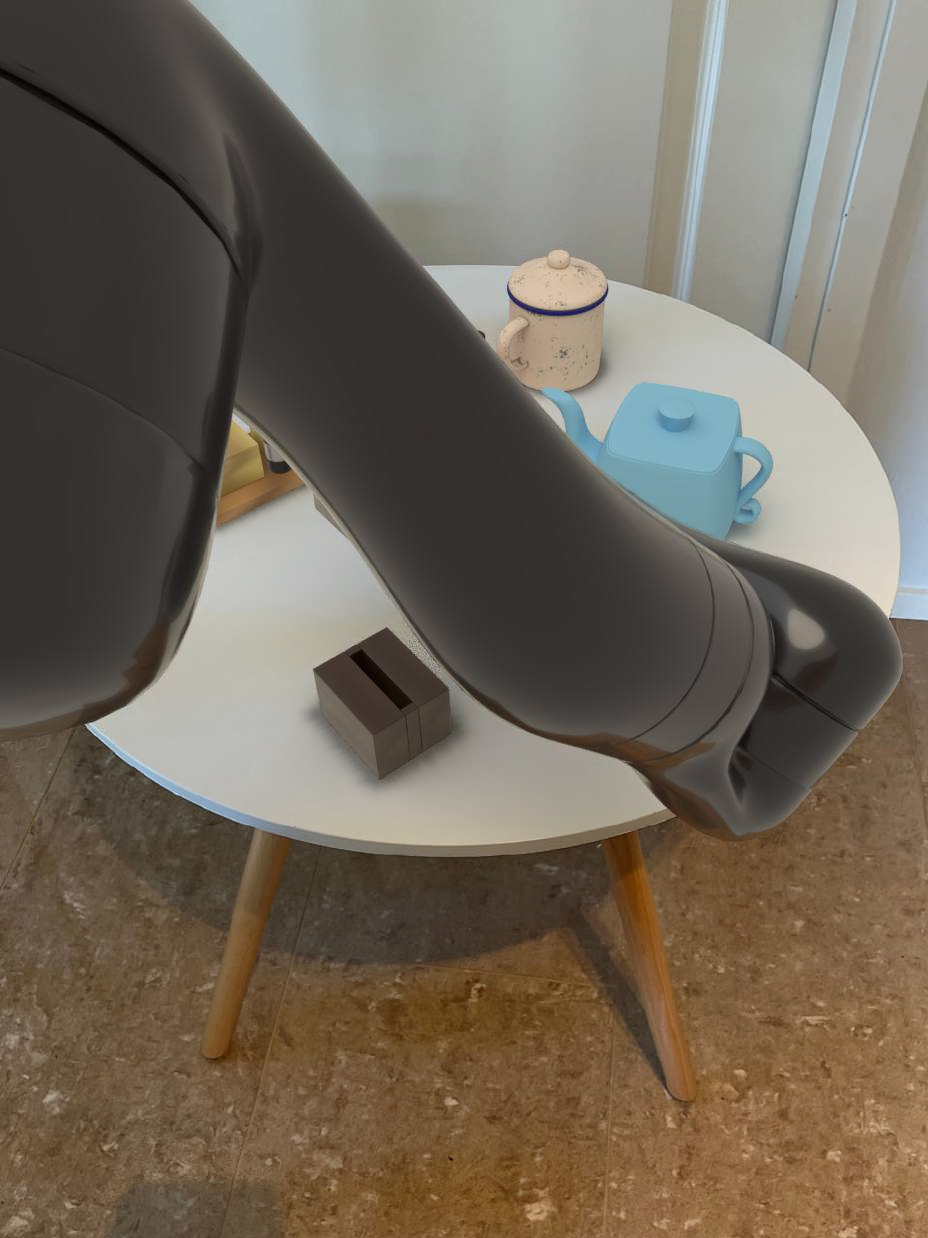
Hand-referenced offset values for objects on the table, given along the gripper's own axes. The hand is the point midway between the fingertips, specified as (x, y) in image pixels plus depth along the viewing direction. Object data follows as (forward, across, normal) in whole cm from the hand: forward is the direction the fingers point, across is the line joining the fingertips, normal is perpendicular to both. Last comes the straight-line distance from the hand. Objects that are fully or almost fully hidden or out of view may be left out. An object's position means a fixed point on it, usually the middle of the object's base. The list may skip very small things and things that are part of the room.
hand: (283, 322), depth 57 cm
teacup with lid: (+17, -34, +27) cm, 47 cm away
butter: (+21, -6, +27) cm, 35 cm away
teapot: (-4, -27, +27) cm, 38 cm away
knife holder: (-8, +1, +27) cm, 28 cm away
